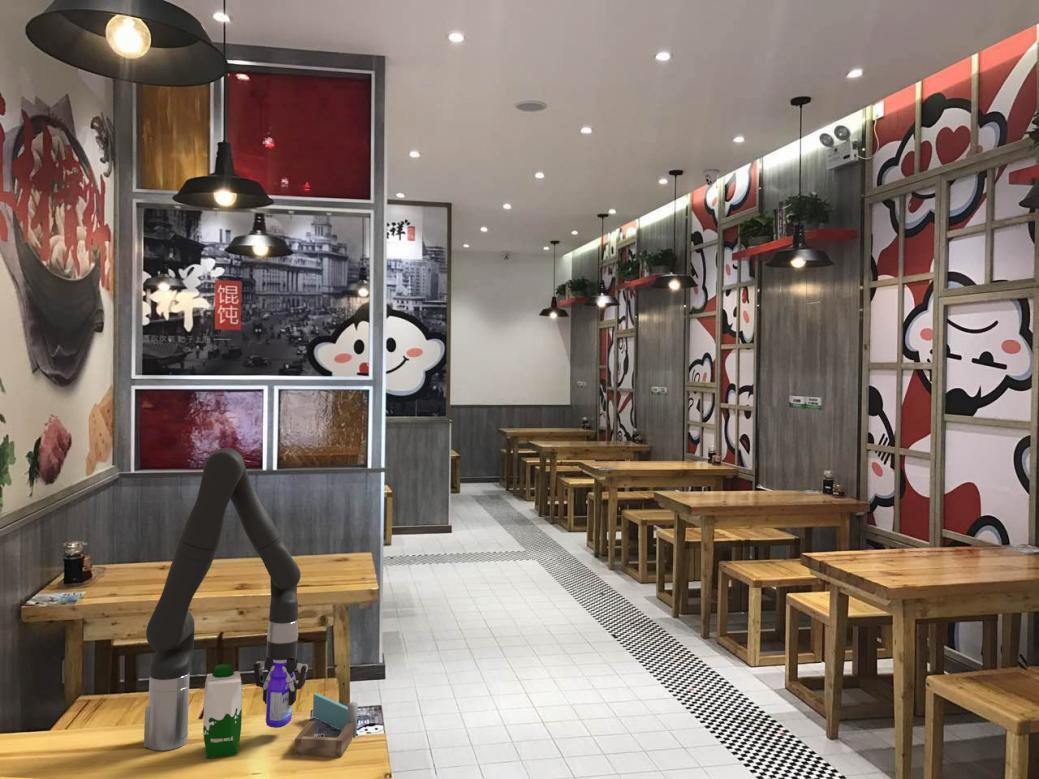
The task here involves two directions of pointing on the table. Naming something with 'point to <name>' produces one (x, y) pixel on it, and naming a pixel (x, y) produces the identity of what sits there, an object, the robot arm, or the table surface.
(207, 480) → the robot arm
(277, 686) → the bottle
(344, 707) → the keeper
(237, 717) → the milk carton
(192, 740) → the table surface
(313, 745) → the brown wooden tray
